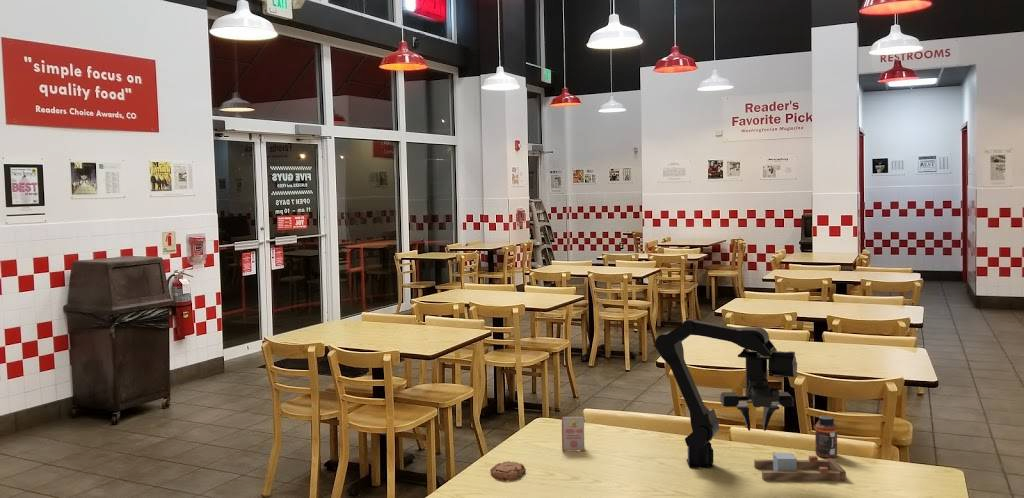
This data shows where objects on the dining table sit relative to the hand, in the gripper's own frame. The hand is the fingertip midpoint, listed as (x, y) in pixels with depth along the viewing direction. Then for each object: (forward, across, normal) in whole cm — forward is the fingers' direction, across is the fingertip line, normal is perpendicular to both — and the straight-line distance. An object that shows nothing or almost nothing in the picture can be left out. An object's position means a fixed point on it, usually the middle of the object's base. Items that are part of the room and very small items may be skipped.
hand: (756, 430), depth 218 cm
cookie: (+12, -68, -2) cm, 70 cm away
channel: (+12, +10, 0) cm, 16 cm away
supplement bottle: (+12, +24, +16) cm, 31 cm away
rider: (+12, +8, 0) cm, 14 cm away
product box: (+12, -50, +21) cm, 56 cm away
